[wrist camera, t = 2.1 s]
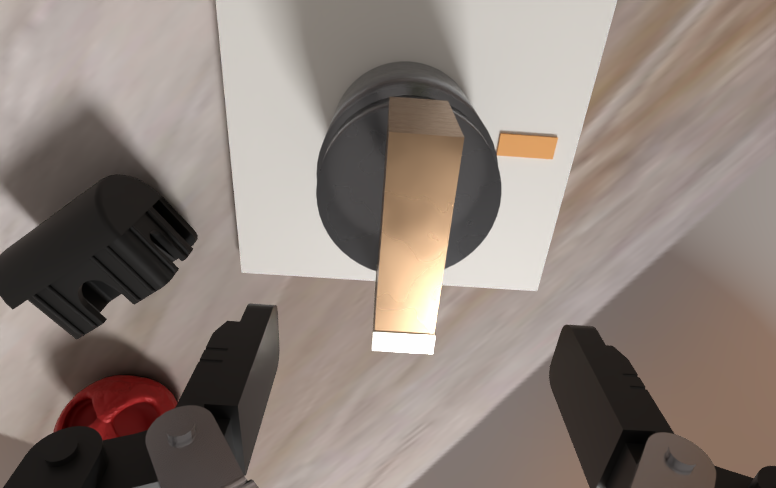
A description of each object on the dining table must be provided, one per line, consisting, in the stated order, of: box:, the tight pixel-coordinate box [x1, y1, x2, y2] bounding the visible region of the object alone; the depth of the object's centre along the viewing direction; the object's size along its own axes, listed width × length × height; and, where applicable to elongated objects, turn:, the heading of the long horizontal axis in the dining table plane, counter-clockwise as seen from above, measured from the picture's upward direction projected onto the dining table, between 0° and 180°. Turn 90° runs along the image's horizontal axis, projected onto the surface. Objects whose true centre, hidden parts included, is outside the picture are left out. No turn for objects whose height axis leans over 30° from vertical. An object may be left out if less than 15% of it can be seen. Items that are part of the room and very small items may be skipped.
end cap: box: [0, 175, 197, 339], centre depth 32 cm, size 10×7×7 cm
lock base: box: [216, 0, 617, 291], centre depth 27 cm, size 22×22×9 cm
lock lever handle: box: [316, 95, 501, 354], centre depth 20 cm, size 9×8×7 cm
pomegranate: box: [54, 375, 178, 440], centre depth 40 cm, size 10×10×9 cm
